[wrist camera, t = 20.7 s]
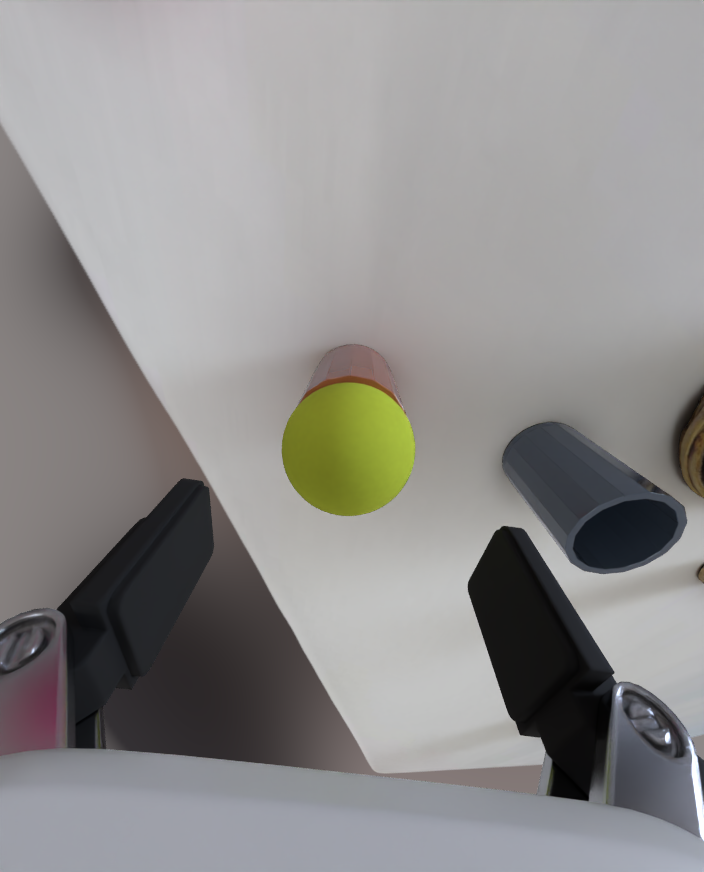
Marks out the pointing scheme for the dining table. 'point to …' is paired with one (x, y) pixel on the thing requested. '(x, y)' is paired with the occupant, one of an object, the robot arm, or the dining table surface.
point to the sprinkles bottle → (701, 575)
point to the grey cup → (591, 500)
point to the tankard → (693, 451)
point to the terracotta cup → (354, 371)
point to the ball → (348, 449)
